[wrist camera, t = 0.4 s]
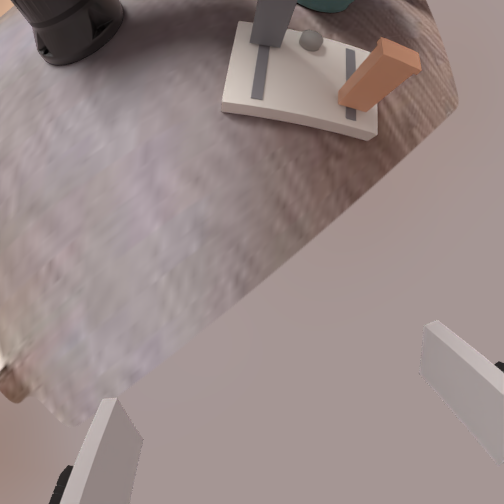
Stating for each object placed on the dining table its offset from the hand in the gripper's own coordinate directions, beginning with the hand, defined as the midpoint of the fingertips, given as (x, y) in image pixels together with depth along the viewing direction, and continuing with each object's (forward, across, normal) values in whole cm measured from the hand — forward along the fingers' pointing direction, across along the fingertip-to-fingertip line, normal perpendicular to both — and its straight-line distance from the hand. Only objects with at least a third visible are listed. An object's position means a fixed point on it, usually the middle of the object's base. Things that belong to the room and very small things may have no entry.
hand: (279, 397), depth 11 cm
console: (+31, +13, +20) cm, 39 cm away
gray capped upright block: (+28, +9, +26) cm, 39 cm away
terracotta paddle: (+27, +18, +15) cm, 35 cm away
